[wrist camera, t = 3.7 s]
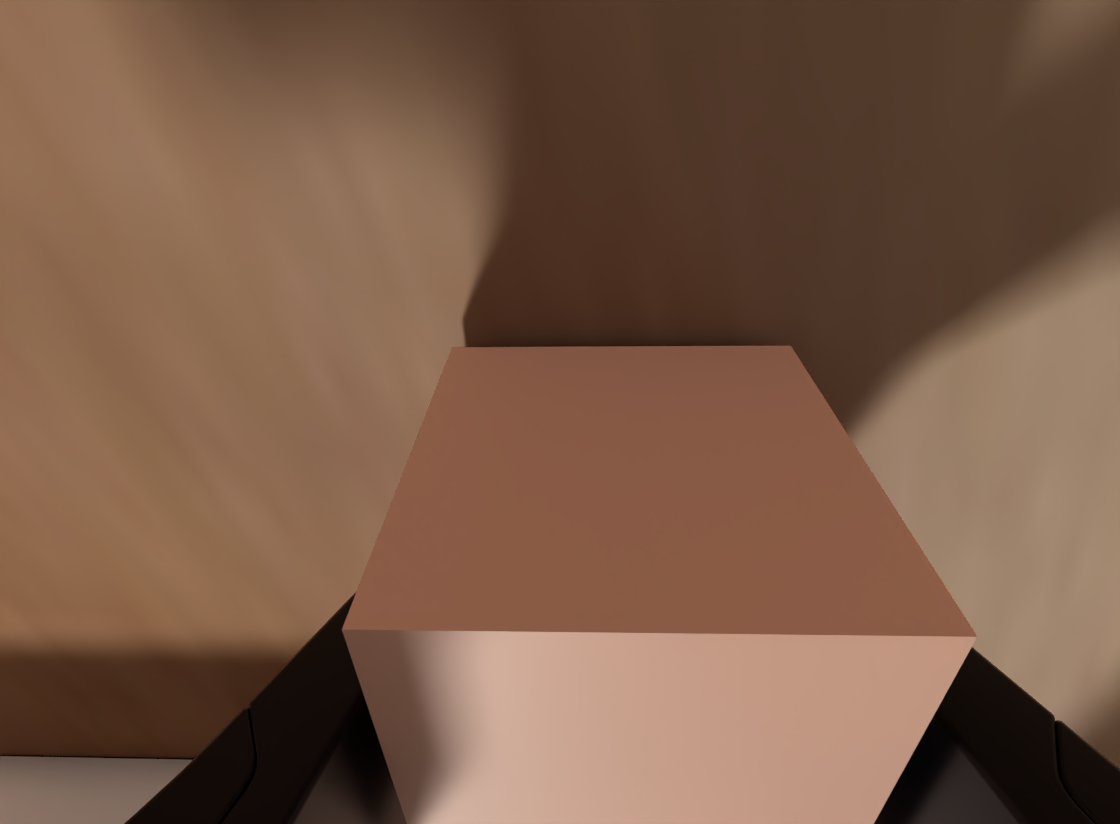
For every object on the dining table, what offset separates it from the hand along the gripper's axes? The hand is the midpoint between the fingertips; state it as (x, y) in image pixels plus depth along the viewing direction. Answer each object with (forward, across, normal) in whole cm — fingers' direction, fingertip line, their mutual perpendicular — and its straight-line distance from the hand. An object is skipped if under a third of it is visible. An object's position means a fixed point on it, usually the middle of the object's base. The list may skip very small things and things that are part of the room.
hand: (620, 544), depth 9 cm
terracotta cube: (+2, 0, 0) cm, 2 cm away
